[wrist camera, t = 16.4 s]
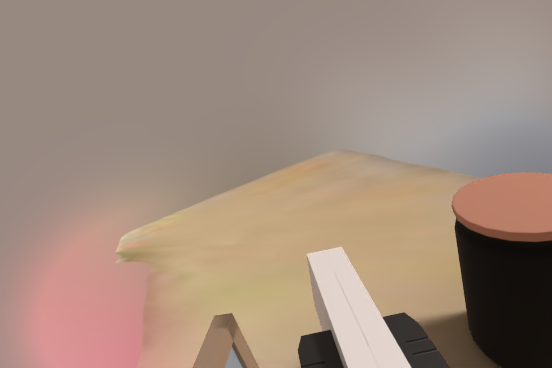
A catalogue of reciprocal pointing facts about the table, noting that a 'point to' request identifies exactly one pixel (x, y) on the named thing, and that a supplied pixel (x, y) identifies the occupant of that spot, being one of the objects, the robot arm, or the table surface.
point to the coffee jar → (508, 266)
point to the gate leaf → (224, 346)
